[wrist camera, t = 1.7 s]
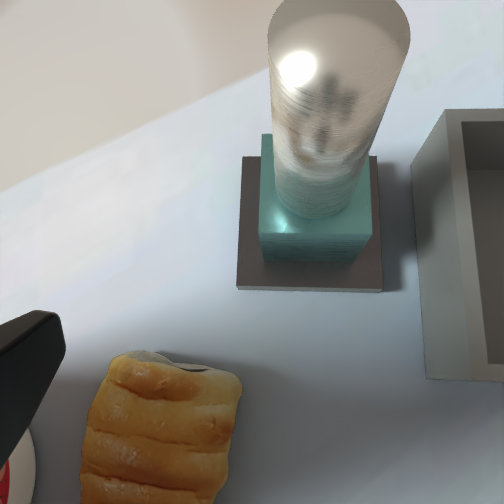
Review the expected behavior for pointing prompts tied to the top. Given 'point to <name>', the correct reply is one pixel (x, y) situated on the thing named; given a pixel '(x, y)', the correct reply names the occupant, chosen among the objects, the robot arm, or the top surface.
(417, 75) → the top surface
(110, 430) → the pastry
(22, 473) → the fruit juice
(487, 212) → the bin
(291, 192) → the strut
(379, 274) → the stud stand
